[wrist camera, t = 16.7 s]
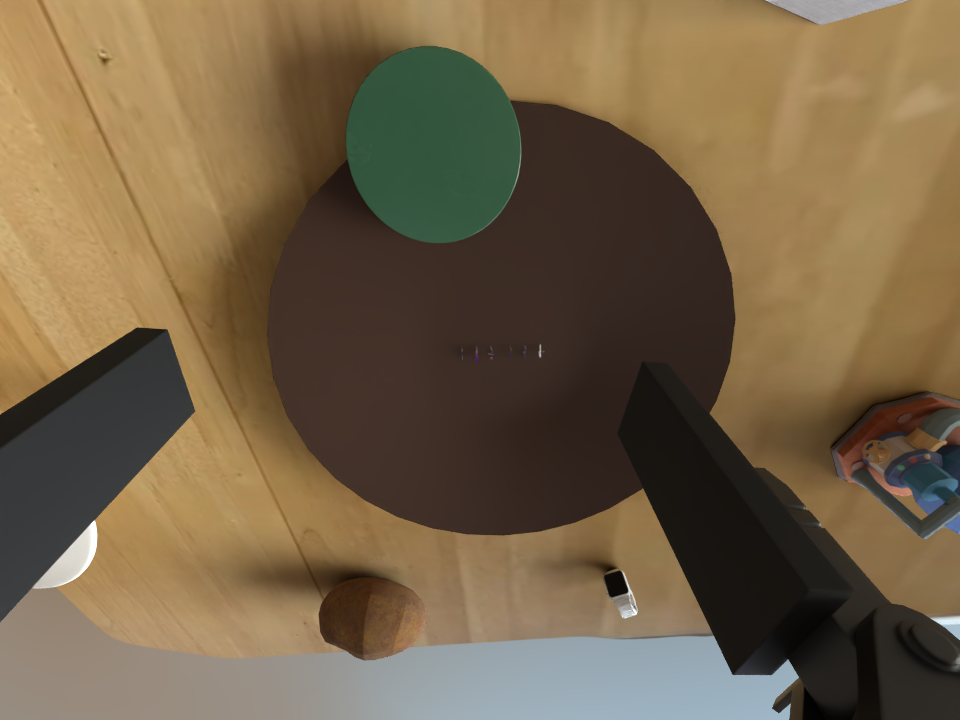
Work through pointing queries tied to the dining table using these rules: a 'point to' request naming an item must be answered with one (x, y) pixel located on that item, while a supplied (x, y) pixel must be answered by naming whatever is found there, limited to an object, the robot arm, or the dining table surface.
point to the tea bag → (831, 8)
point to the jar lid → (433, 144)
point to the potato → (372, 617)
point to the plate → (500, 333)
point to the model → (908, 458)
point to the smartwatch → (620, 593)
